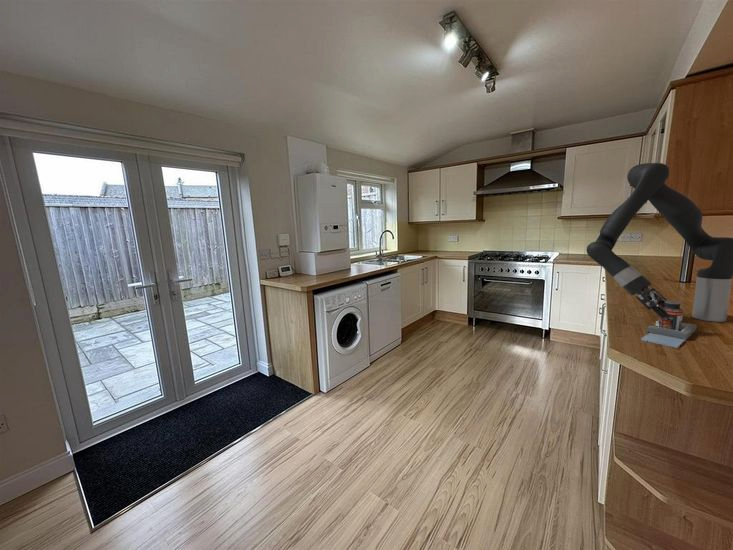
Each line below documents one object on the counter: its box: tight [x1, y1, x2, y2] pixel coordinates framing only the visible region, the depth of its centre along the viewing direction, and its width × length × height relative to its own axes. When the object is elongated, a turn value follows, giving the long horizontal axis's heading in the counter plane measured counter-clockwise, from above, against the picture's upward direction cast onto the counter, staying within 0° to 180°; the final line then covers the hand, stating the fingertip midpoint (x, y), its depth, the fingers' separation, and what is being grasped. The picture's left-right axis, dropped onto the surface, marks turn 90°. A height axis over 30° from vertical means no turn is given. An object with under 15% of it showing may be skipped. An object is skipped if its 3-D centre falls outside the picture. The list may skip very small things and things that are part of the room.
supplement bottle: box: [658, 300, 684, 331], centre depth 108 cm, size 6×6×11 cm
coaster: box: [640, 333, 686, 349], centre depth 101 cm, size 9×9×1 cm
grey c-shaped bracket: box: [646, 319, 697, 341], centre depth 110 cm, size 19×10×3 cm, turn 123°
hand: (669, 314), depth 108 cm, fingers open, 8 cm apart
